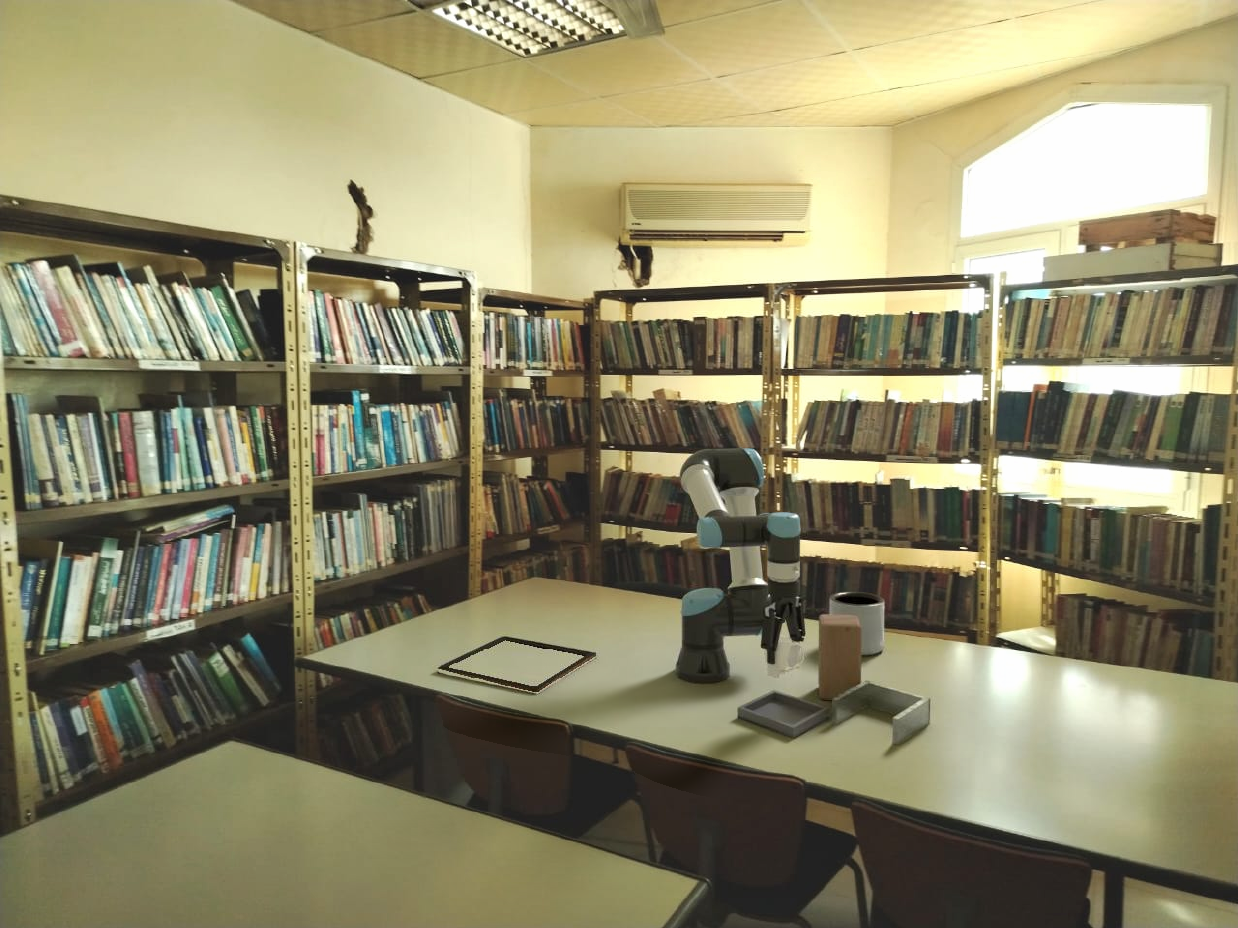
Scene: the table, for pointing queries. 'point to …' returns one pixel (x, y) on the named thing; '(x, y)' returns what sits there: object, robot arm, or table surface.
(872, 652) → the planter
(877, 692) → the bay
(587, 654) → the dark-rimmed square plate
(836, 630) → the wooden block
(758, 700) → the tray
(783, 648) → the cup
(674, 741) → the table surface
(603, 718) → the table surface
